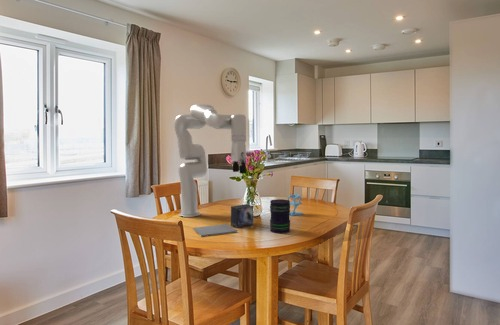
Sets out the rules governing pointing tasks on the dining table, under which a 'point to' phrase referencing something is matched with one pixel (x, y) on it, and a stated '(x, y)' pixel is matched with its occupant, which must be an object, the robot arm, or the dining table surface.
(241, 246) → the dining table surface
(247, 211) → the small box
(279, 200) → the storage jar
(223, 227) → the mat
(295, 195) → the chair
